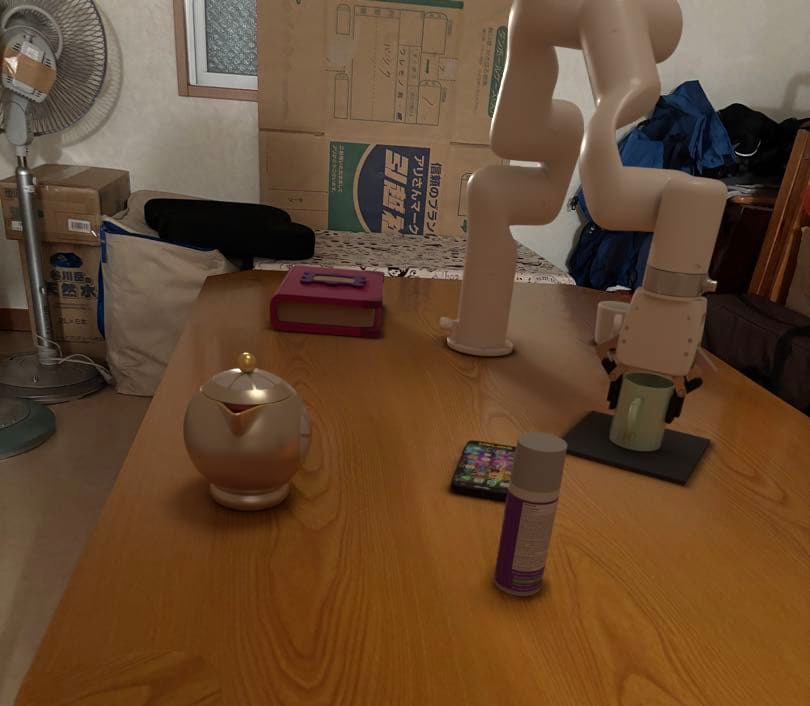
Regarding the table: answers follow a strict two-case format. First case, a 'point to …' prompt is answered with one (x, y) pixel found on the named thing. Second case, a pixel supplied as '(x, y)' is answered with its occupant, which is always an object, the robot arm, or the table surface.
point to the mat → (663, 463)
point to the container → (529, 513)
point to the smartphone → (484, 470)
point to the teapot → (247, 435)
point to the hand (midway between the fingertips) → (641, 413)
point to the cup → (610, 320)
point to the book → (329, 301)
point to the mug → (641, 411)
